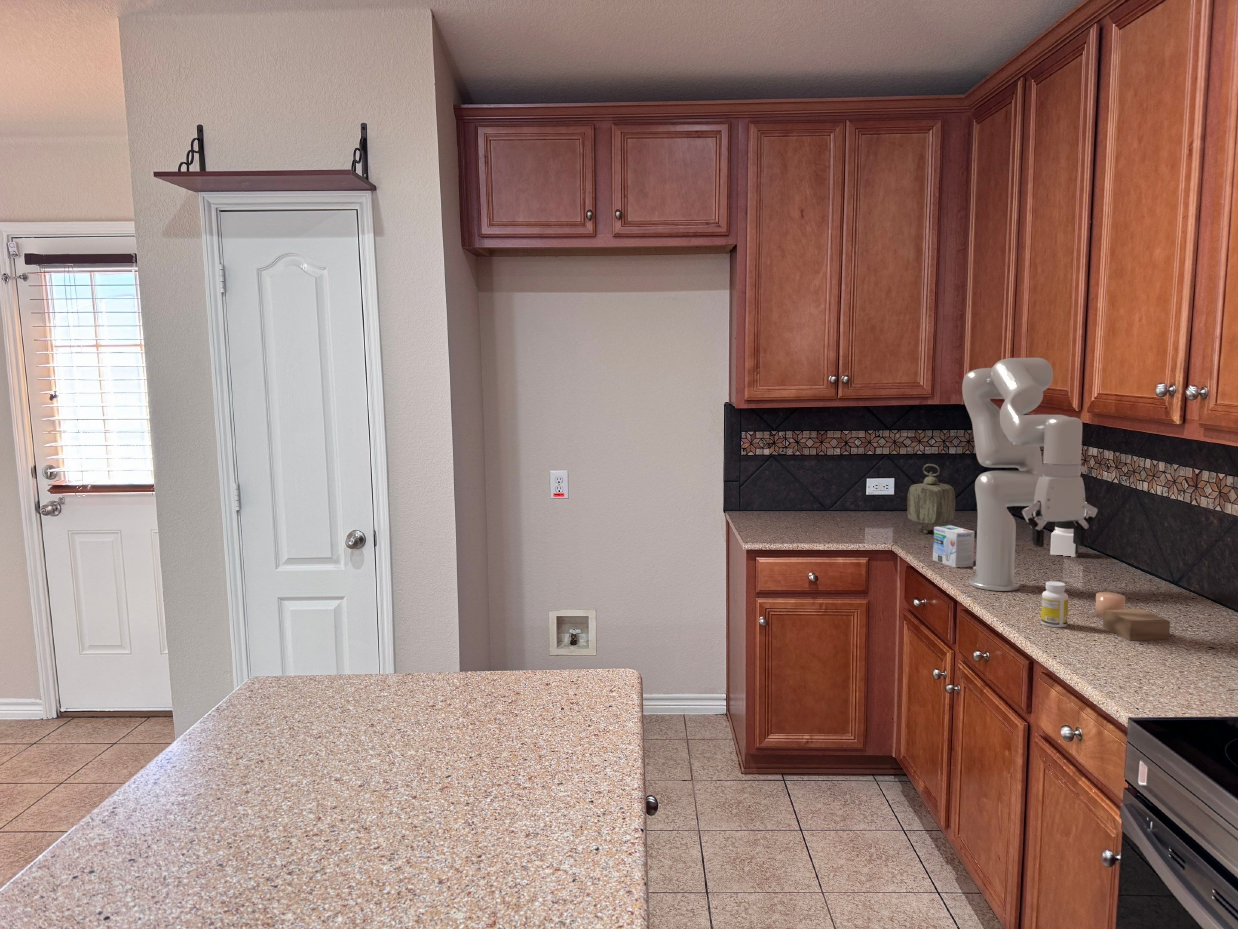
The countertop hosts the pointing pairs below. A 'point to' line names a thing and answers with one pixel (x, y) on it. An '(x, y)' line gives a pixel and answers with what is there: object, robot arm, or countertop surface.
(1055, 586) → the supplement bottle
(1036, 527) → the robot arm
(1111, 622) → the brown square block
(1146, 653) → the countertop surface
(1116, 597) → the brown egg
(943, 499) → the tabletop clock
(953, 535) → the light bulb box
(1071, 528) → the medicine bottle
